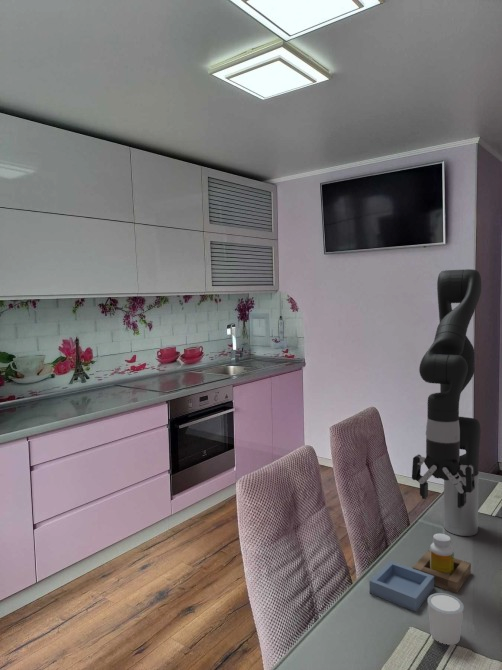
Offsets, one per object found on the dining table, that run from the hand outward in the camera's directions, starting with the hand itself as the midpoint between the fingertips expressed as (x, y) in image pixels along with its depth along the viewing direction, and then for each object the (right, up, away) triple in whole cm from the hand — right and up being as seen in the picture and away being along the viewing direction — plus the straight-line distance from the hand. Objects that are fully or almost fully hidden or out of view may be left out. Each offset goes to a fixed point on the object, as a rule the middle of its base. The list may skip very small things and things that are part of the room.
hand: (442, 502), depth 120 cm
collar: (0, -18, +2) cm, 19 cm away
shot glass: (-7, -21, -20) cm, 29 cm away
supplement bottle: (0, -19, +2) cm, 19 cm away
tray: (-11, -19, -4) cm, 23 cm away
